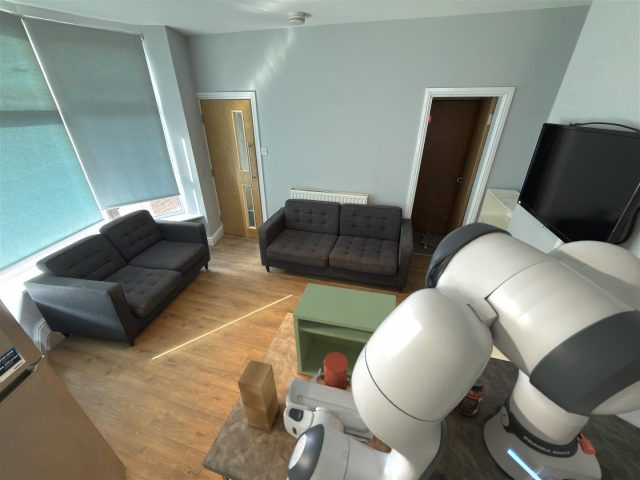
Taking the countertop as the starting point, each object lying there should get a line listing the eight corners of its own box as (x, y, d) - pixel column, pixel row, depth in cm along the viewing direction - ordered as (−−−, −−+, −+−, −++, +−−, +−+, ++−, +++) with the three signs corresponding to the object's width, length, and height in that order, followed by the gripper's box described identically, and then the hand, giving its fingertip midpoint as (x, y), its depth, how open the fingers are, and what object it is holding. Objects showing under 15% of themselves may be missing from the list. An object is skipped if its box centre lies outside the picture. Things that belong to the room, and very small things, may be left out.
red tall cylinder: (348, 384, 70) (349, 354, 65) (344, 406, 65) (345, 375, 60) (327, 379, 72) (326, 349, 66) (321, 400, 67) (321, 369, 61)
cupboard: (386, 393, 74) (395, 332, 63) (298, 373, 81) (292, 314, 69) (387, 353, 86) (396, 295, 75) (311, 338, 93) (308, 282, 81)
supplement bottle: (481, 416, 69) (493, 390, 63) (458, 416, 69) (468, 390, 63) (470, 394, 74) (480, 368, 69) (448, 394, 74) (457, 368, 69)
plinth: (279, 407, 72) (272, 364, 63) (270, 431, 67) (261, 387, 58) (259, 402, 73) (249, 359, 65) (248, 424, 68) (237, 381, 60)
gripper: (374, 438, 51) (379, 374, 62) (276, 411, 55) (297, 356, 67) (372, 454, 53) (376, 390, 65) (279, 427, 58) (299, 372, 70)
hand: (336, 373), depth 66 cm, fingers closed on red tall cylinder, 6 cm apart
